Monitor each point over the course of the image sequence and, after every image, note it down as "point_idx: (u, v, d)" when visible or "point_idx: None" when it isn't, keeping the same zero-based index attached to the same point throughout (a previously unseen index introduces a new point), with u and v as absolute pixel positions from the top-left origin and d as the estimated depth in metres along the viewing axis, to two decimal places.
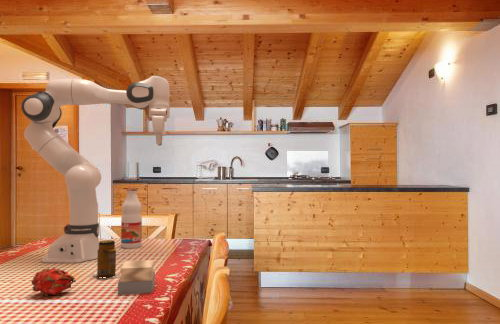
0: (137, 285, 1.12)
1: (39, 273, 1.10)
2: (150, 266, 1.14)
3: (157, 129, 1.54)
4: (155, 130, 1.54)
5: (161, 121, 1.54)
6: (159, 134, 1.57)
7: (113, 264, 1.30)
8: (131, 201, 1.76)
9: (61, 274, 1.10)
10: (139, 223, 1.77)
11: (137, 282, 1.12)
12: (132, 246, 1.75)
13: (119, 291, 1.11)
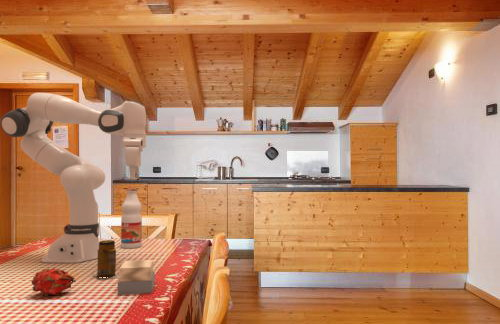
0: (137, 284, 1.12)
1: (39, 273, 1.10)
2: (149, 266, 1.14)
3: (130, 162, 1.36)
4: (128, 164, 1.36)
5: (135, 153, 1.36)
6: (133, 167, 1.39)
7: (113, 264, 1.30)
8: (131, 201, 1.76)
9: (61, 274, 1.10)
10: (139, 223, 1.77)
11: (137, 282, 1.12)
12: (132, 246, 1.75)
13: (119, 291, 1.11)
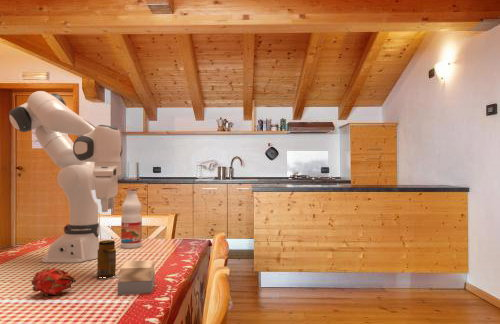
0: (137, 284, 1.12)
1: (39, 273, 1.10)
2: (150, 266, 1.14)
3: (101, 196, 1.21)
4: (98, 197, 1.21)
5: (106, 185, 1.22)
6: (105, 200, 1.25)
7: (113, 264, 1.30)
8: (131, 201, 1.76)
9: (61, 274, 1.10)
10: (139, 223, 1.77)
11: (137, 282, 1.12)
12: (132, 246, 1.75)
13: (119, 291, 1.11)
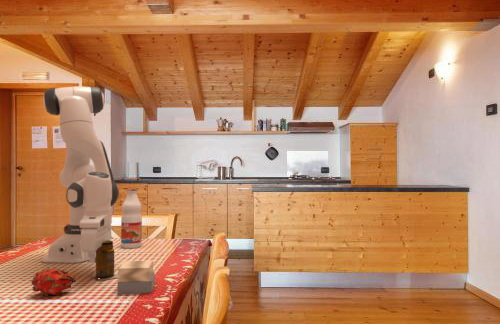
0: (136, 285, 1.12)
1: (39, 273, 1.10)
2: (148, 267, 1.14)
3: (86, 248, 1.19)
4: (84, 250, 1.19)
5: (92, 238, 1.19)
6: (92, 252, 1.22)
7: (112, 264, 1.29)
8: (131, 201, 1.76)
9: (61, 274, 1.10)
10: (139, 223, 1.77)
11: (137, 282, 1.12)
12: (132, 246, 1.75)
13: (119, 291, 1.11)
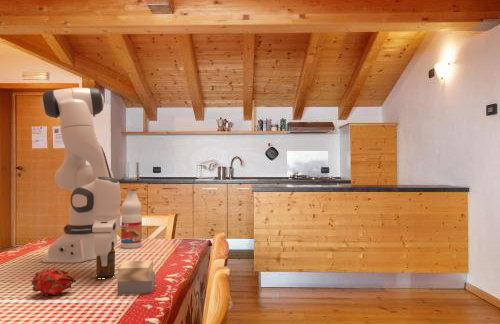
0: (136, 284, 1.12)
1: (39, 273, 1.10)
2: (147, 266, 1.14)
3: (100, 252, 1.21)
4: (98, 254, 1.21)
5: (106, 242, 1.21)
6: (105, 255, 1.25)
7: (112, 265, 1.29)
8: (131, 201, 1.76)
9: (61, 274, 1.10)
10: (139, 223, 1.77)
11: (137, 282, 1.12)
12: (132, 246, 1.75)
13: (119, 291, 1.11)
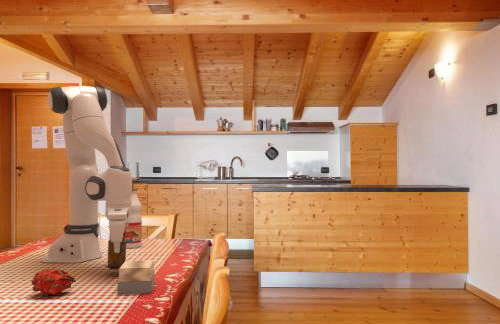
0: (136, 284, 1.12)
1: (39, 273, 1.10)
2: (149, 266, 1.14)
3: (115, 239, 1.24)
4: (113, 240, 1.24)
5: (121, 229, 1.25)
6: (118, 241, 1.28)
7: (124, 255, 1.33)
8: None
9: (61, 274, 1.10)
10: (139, 223, 1.77)
11: (137, 282, 1.12)
12: (132, 246, 1.75)
13: (119, 291, 1.11)
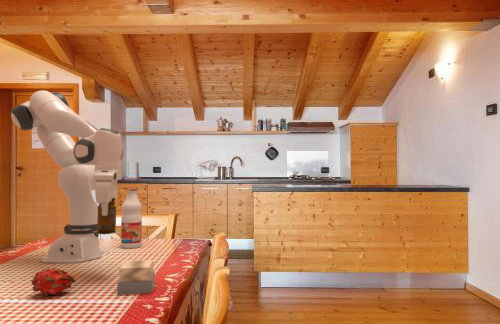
0: (136, 285, 1.12)
1: (39, 273, 1.10)
2: (149, 266, 1.14)
3: (101, 200, 1.21)
4: (98, 201, 1.21)
5: (106, 189, 1.22)
6: (105, 204, 1.26)
7: (113, 220, 1.30)
8: (131, 201, 1.76)
9: (61, 274, 1.10)
10: (139, 223, 1.77)
11: (137, 282, 1.12)
12: (132, 246, 1.75)
13: (119, 291, 1.11)
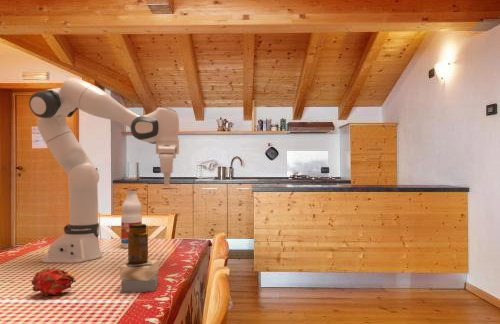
0: (140, 283, 1.14)
1: (39, 273, 1.10)
2: (148, 266, 1.15)
3: (165, 170, 1.35)
4: (163, 171, 1.35)
5: (170, 161, 1.35)
6: (168, 175, 1.38)
7: (144, 250, 1.18)
8: (131, 201, 1.76)
9: (61, 274, 1.10)
10: (139, 223, 1.77)
11: (140, 281, 1.14)
12: None
13: (122, 290, 1.13)
